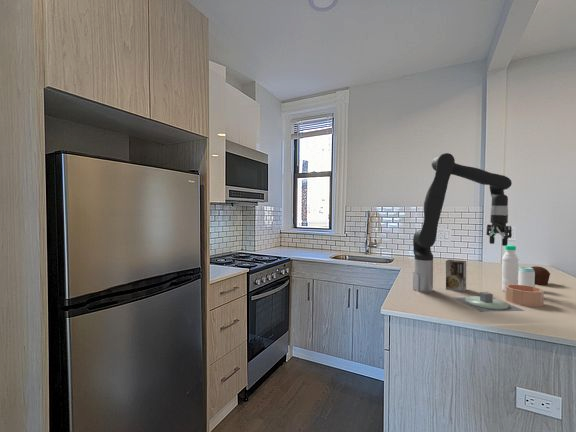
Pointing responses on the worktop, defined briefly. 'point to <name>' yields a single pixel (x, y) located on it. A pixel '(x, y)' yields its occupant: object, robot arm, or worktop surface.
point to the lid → (486, 301)
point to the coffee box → (456, 275)
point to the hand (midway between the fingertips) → (498, 244)
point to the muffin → (541, 275)
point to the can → (526, 276)
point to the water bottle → (509, 267)
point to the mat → (511, 308)
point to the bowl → (524, 295)
